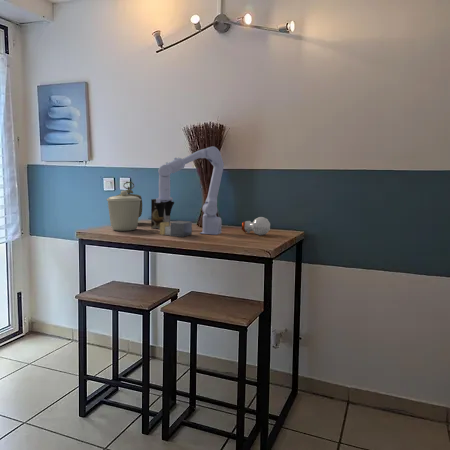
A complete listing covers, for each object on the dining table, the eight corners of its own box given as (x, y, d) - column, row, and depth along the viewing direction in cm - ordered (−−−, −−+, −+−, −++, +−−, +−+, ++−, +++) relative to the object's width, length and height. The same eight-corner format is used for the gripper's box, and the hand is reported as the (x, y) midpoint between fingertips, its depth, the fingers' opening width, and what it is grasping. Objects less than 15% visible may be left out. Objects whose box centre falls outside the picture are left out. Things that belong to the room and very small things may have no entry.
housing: (191, 234, 215) (191, 221, 215) (183, 237, 206) (183, 223, 205) (179, 233, 218) (179, 220, 217) (170, 236, 208) (170, 222, 207)
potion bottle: (268, 239, 214) (244, 239, 223) (276, 226, 220) (252, 227, 229) (261, 225, 209) (237, 226, 218) (269, 212, 215) (245, 213, 224)
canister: (137, 232, 218) (137, 191, 216) (102, 231, 219) (101, 190, 216) (144, 228, 236) (144, 190, 234) (112, 227, 237) (111, 189, 234)
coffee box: (150, 228, 236) (150, 199, 234) (156, 227, 242) (156, 198, 240) (165, 229, 233) (165, 199, 231) (170, 227, 239) (170, 199, 237)
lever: (184, 234, 214) (184, 222, 213) (180, 236, 209) (180, 224, 209) (164, 233, 217) (164, 221, 217) (160, 234, 213) (160, 222, 212)
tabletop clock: (136, 222, 263) (136, 181, 259) (144, 223, 256) (143, 182, 253) (114, 223, 253) (114, 181, 250) (121, 225, 246) (121, 182, 243)
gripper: (163, 188, 220) (163, 214, 222) (150, 189, 206) (150, 217, 208) (176, 189, 218) (176, 215, 220) (163, 189, 204) (163, 218, 206)
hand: (164, 216), depth 214 cm, fingers open, 7 cm apart
